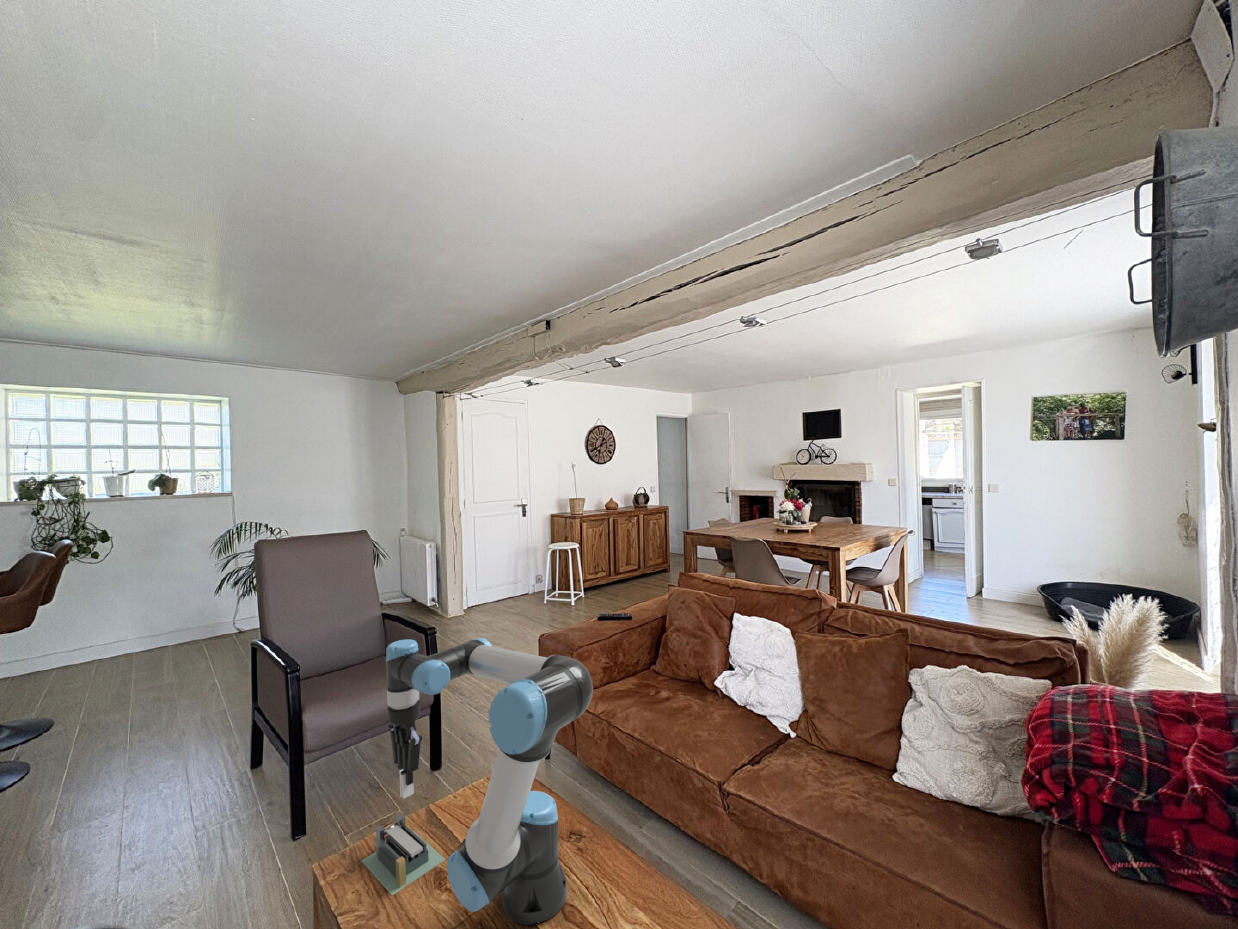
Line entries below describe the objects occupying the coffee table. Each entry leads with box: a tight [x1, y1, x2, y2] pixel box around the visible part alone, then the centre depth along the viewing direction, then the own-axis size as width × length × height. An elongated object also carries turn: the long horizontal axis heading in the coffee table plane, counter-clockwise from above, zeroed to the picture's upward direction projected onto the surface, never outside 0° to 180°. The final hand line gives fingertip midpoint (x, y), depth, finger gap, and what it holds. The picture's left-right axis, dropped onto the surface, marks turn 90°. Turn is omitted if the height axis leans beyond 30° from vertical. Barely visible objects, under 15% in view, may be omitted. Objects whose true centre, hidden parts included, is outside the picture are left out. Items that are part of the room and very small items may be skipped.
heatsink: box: [378, 824, 429, 878], centre depth 133 cm, size 11×8×5 cm
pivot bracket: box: [375, 813, 406, 855], centre depth 137 cm, size 2×7×7 cm, turn 139°
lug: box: [396, 857, 406, 888], centre depth 125 cm, size 2×2×6 cm
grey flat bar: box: [384, 821, 423, 858], centre depth 133 cm, size 15×4×1 cm, turn 50°
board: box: [361, 829, 446, 896], centre depth 133 cm, size 17×14×1 cm
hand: (407, 794), depth 131 cm, fingers closed
